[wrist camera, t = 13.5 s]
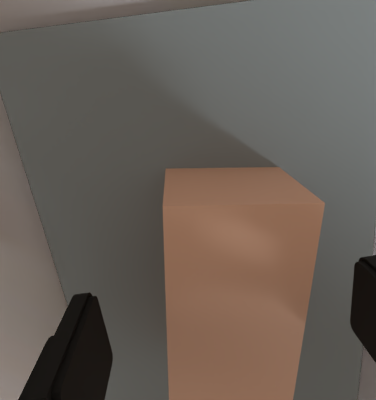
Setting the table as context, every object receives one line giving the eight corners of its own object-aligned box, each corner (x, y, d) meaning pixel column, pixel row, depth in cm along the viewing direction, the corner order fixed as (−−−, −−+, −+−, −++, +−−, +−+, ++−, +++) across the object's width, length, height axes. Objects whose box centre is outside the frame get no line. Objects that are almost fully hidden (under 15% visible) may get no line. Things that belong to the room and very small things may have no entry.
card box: (279, 167, 12) (325, 203, 9) (260, 342, 16) (288, 424, 12) (165, 168, 12) (162, 206, 8) (170, 346, 15) (170, 430, 12)
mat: (351, 392, 18) (357, 402, 17) (110, 423, 18) (108, 434, 17) (389, -14, 11) (400, -19, 10) (-9, 37, 11) (-18, 34, 10)
